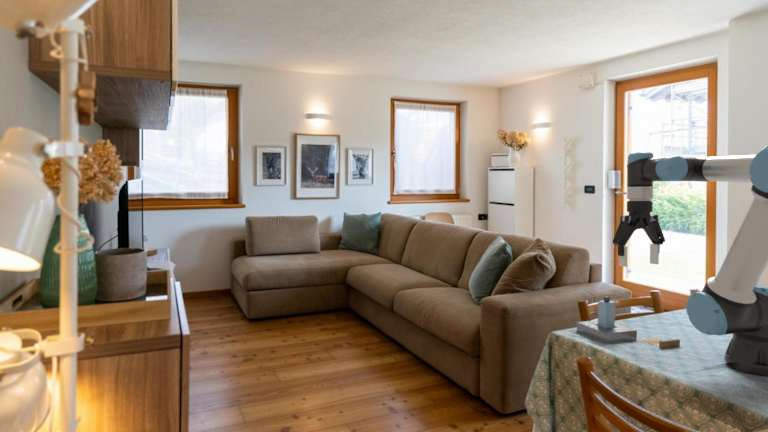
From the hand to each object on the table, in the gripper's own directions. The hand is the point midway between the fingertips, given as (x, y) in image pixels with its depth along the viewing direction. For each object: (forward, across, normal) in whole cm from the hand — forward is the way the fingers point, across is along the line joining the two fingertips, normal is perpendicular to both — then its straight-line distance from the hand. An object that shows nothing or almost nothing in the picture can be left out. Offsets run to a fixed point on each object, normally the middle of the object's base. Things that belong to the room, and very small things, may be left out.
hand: (638, 265), depth 169 cm
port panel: (+24, +9, -5) cm, 26 cm away
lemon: (+24, -5, -18) cm, 30 cm away
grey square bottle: (+24, +9, -5) cm, 26 cm away
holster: (+25, 0, +8) cm, 26 cm away
